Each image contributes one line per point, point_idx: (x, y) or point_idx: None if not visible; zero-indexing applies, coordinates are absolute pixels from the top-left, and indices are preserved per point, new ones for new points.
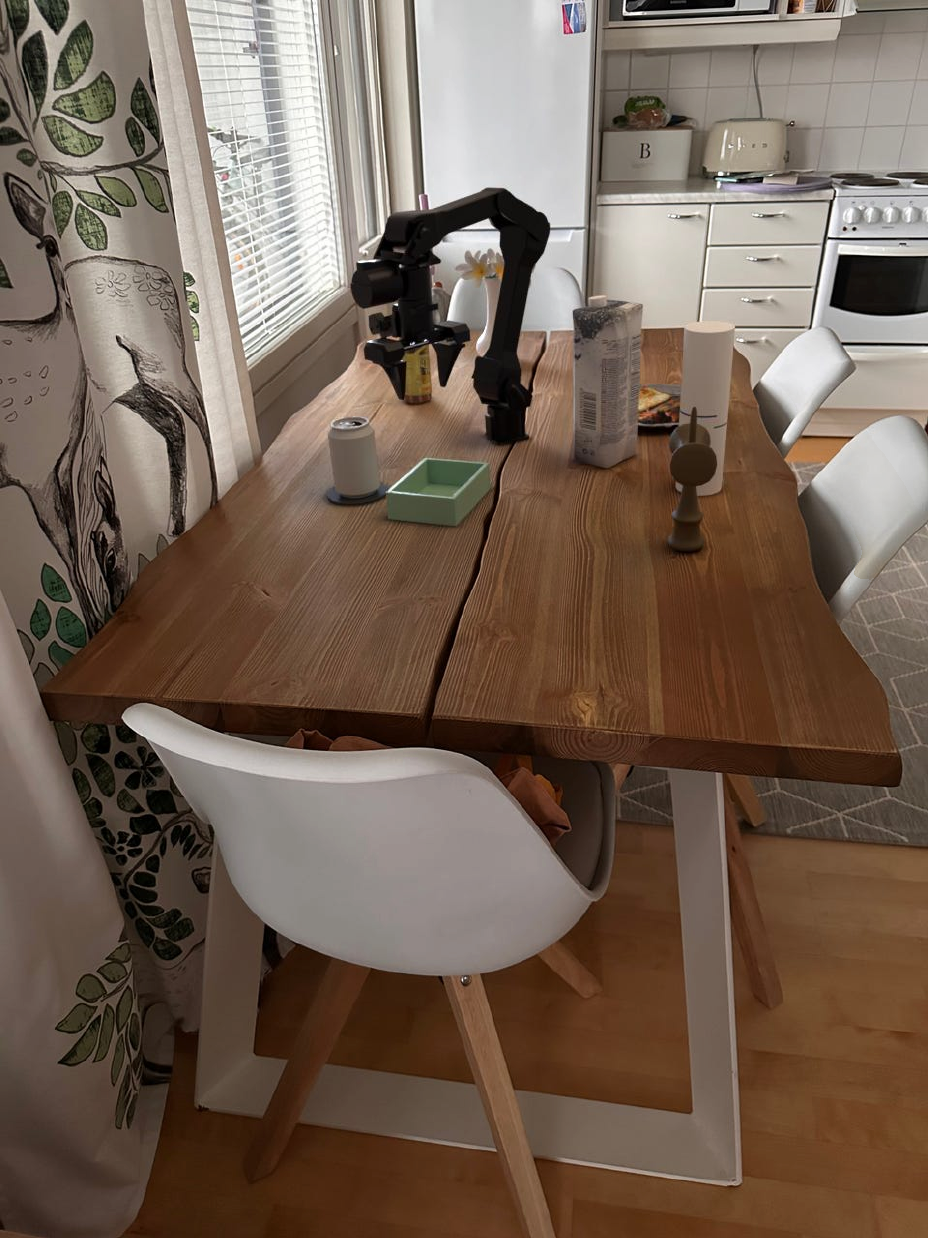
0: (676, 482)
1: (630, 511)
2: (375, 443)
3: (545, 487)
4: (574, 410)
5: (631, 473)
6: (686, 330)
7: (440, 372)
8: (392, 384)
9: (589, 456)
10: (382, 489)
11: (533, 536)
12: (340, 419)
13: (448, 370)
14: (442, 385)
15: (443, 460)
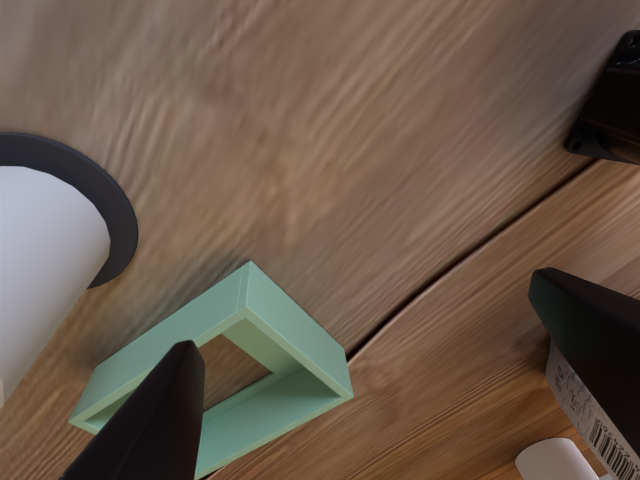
0: (530, 458)
1: (428, 468)
2: (37, 355)
3: (417, 382)
4: None
5: (546, 398)
6: None
7: (609, 347)
8: (97, 442)
9: (555, 369)
10: (119, 247)
11: (285, 474)
12: None
13: (617, 425)
14: (533, 295)
15: (277, 344)
